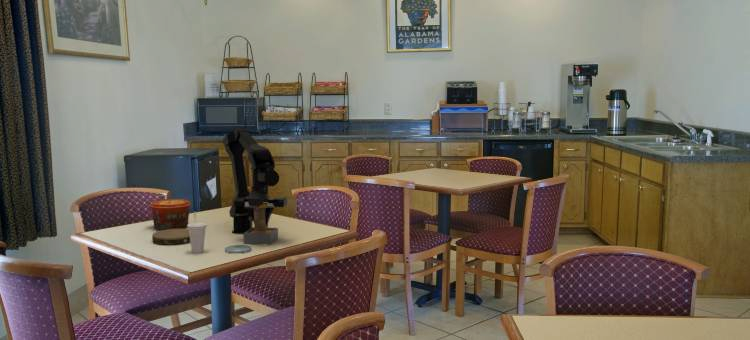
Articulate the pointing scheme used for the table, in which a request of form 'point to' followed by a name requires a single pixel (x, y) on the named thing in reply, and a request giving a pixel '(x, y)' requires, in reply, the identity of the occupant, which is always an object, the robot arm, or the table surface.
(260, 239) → the box
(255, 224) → the brown upright block
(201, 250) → the smoothie
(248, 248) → the saucer
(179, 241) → the tin can
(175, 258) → the table surface
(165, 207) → the food container
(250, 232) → the button
